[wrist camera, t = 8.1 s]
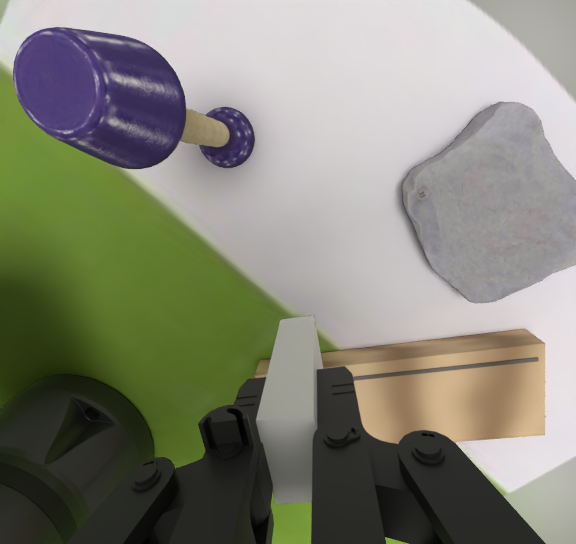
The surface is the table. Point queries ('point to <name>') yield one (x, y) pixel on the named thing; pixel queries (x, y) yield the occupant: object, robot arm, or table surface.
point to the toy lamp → (119, 101)
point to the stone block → (495, 206)
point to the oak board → (448, 386)
